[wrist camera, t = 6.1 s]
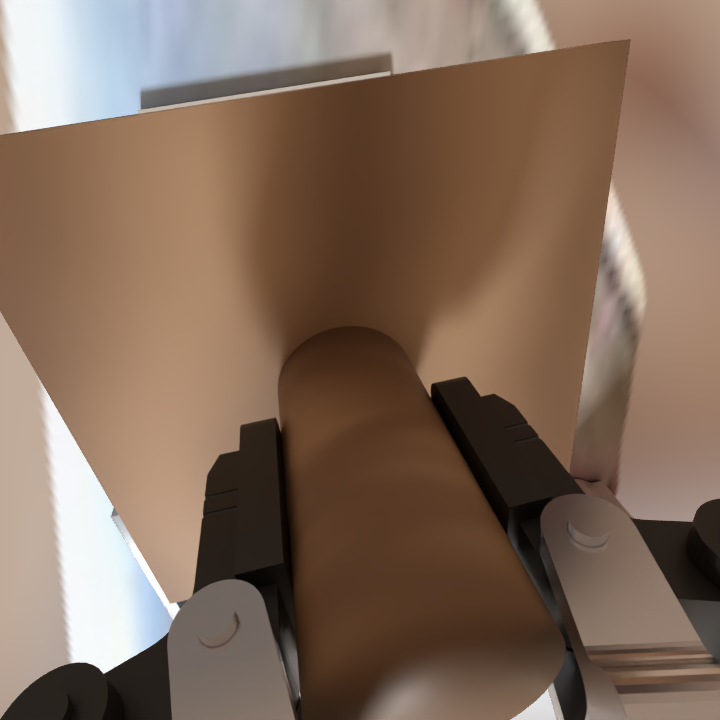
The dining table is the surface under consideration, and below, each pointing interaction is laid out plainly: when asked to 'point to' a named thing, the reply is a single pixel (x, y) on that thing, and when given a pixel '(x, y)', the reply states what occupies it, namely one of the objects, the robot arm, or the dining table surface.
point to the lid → (331, 341)
